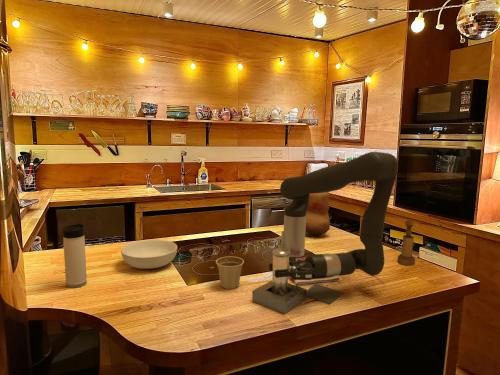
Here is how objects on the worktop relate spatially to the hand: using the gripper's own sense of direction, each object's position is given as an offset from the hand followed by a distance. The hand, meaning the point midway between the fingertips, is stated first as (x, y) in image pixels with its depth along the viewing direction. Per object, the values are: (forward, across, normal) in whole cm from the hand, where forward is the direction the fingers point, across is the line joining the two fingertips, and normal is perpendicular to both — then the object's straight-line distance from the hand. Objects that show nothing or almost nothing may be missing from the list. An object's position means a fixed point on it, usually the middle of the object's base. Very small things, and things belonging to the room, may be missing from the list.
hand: (272, 270), depth 110 cm
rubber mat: (-18, +1, -10) cm, 20 cm away
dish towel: (-21, +20, -11) cm, 31 cm away
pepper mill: (-65, +19, -10) cm, 68 cm away
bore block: (-3, 0, -10) cm, 10 cm away
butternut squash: (-46, +63, -10) cm, 79 cm away
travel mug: (+59, +27, -10) cm, 66 cm away
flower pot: (+10, +14, -10) cm, 20 cm away
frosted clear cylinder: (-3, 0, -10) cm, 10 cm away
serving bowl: (+35, +40, -10) cm, 55 cm away
